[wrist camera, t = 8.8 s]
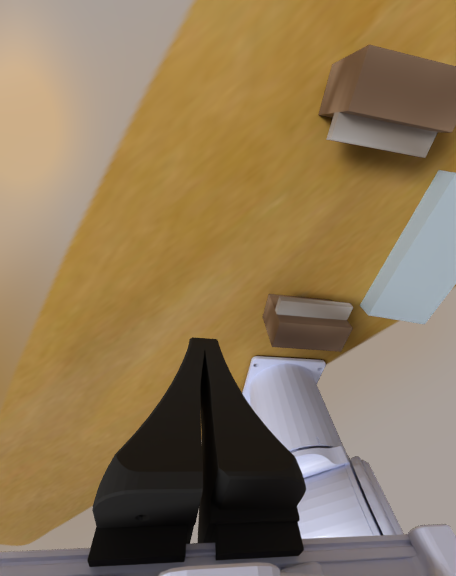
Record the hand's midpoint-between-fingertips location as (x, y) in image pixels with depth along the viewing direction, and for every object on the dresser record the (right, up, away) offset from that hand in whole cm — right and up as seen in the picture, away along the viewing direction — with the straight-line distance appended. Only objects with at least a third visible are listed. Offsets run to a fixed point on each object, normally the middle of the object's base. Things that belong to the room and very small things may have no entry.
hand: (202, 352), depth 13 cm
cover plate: (+18, +6, +9) cm, 21 cm away
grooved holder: (+9, +8, +7) cm, 14 cm away
